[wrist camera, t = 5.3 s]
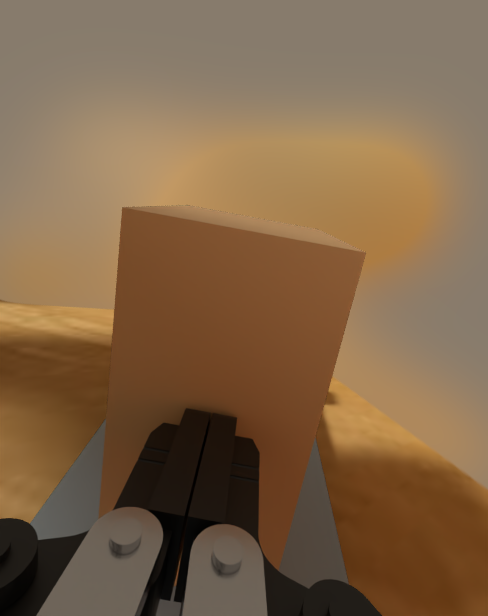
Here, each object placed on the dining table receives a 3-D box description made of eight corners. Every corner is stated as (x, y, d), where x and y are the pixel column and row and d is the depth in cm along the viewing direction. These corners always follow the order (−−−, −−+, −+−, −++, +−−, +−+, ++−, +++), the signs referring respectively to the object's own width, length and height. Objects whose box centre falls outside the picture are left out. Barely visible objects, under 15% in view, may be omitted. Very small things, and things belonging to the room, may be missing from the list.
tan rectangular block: (269, 603, 12) (365, 252, 9) (94, 571, 12) (122, 207, 9) (266, 448, 20) (318, 229, 16) (159, 428, 20) (188, 205, 16)
